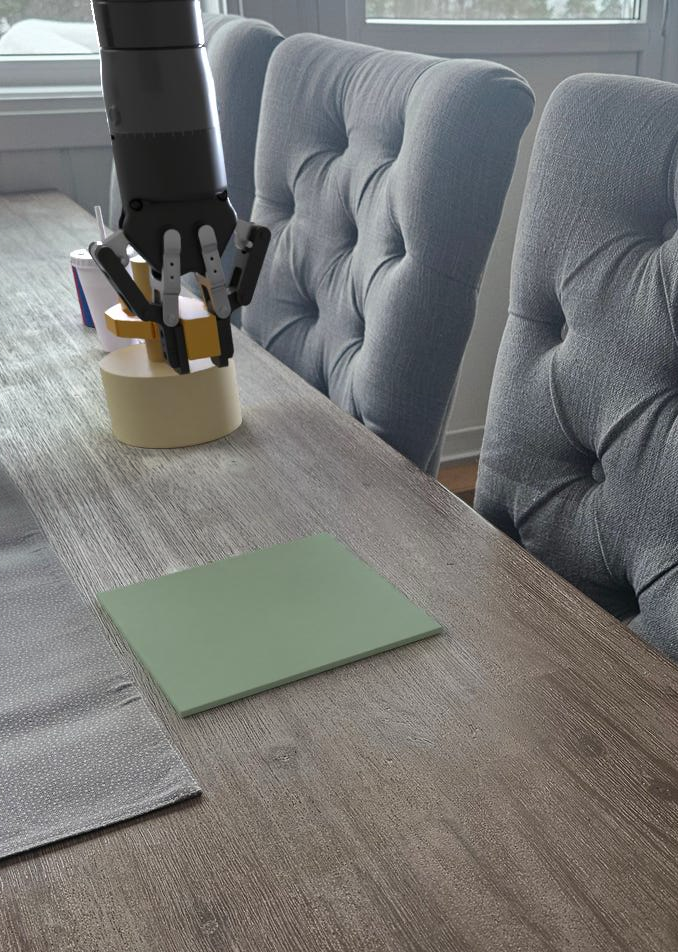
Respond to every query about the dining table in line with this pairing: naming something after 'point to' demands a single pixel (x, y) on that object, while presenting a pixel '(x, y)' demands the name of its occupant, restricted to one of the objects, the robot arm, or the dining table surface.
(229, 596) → the mat
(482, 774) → the dining table surface
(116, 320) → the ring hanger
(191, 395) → the stand
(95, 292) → the smoothie
